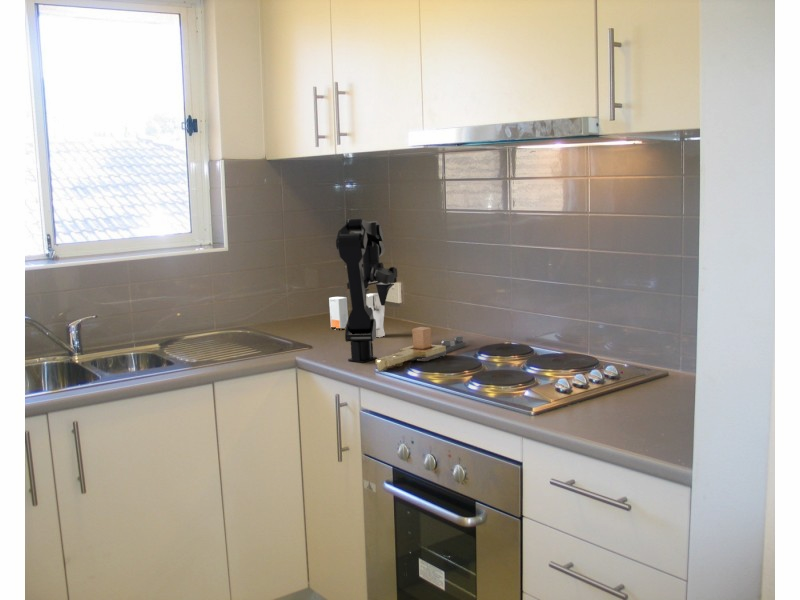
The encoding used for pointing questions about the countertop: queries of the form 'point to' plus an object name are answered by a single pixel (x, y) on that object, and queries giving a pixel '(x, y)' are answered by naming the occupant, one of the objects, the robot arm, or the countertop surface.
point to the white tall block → (376, 312)
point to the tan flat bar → (419, 353)
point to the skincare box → (338, 312)
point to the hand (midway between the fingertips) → (373, 307)
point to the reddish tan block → (422, 338)
